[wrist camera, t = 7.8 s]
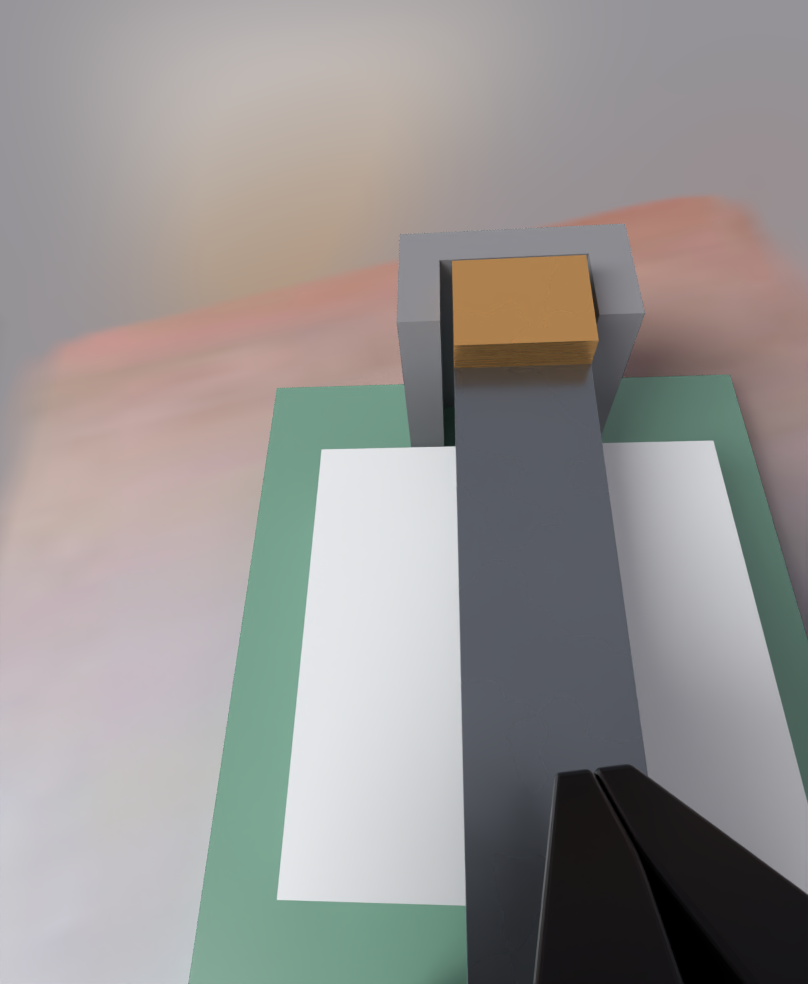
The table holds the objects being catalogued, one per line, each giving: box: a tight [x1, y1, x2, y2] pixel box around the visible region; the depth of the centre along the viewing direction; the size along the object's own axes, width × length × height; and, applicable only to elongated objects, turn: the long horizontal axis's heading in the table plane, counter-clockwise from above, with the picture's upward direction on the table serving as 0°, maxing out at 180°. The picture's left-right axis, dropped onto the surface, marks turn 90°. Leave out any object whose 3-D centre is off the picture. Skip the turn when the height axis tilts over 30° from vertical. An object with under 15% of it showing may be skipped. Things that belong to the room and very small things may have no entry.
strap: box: [452, 255, 648, 984], centre depth 12 cm, size 17×3×2 cm, turn 179°
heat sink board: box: [188, 224, 808, 984], centre depth 14 cm, size 21×15×8 cm
